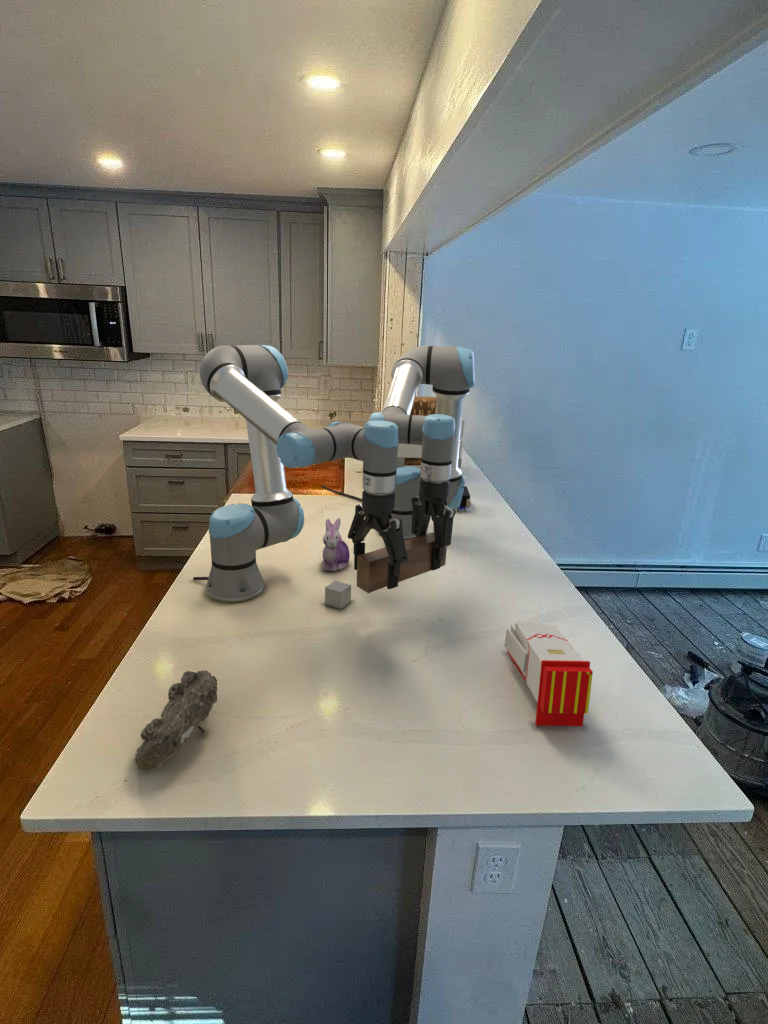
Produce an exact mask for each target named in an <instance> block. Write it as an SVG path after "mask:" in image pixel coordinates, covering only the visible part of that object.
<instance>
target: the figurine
mask: <svg viewBox="0 0 768 1024" xmlns="http://www.w3.org/2000/svg"><path fill="white" fill-rule="evenodd" d="M341 523H342V522H341V518H340V517H337V518H336V520H335V521H334V523H333V524H332V522H331V520H330V519H329V518H327V519H326V520H325V532H324V534H323V537H322V542H323V544H324V547H323V549H322V566H323V567H322V568H323V570H325V571H328V572H336V571H339V570H340V571H341V570H343V569H345V568H347V567H348V566H349V564H350V563H349V562H350V557H351V556H350V550H349V549H350V548H349V546H348V545H347V543H346V542H345V540H343V539H342V535H341V532H340V527H341Z"/></svg>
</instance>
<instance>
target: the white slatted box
mask: <svg viewBox="0 0 768 1024" xmlns="http://www.w3.org/2000/svg"><path fill="white" fill-rule="evenodd" d="M436 399H437V396H415V397H414V401H413V405H412V409H411V413H410V415H419V416H428V415H432V414H436ZM464 429H465V419H464V418H462V424H461V435H460V447H459V458H458V468H459V469H460V470H461V471H462V461H463V460H462V453H463V442H464V441H463V440H462V439H463V438H464V431H465V430H464ZM421 458H422V445H412V444H400V443H399V445H398V453H397V467H396V468H400V467H405V466H406V467H417V466H418V467H421Z"/></svg>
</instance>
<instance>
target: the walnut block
mask: <svg viewBox="0 0 768 1024" xmlns="http://www.w3.org/2000/svg"><path fill="white" fill-rule="evenodd" d="M426 534H427V535H423V536H420V537H417V538H414V539H410V540H404V542H405V547H406V551H407V556H408V561H407V562H405V563H402V564H401V569H400V575H399V578H398V583H401V582H403V581H406V580H409V579H411V578H414V577H417V576H419V575H422V574H423V575H424V574H426V573H428V572H431V571H432V570H431V561H432V548H433V546H434V545H435V537H434V531H433V532H430V533H426ZM440 542H441V541H440ZM447 547H448V546H447ZM447 547H444V551H443V558H441V566H440V568H443V567H444V566H446V563H447V561H446V560H447V549H448V548H447ZM395 558H396V556H395ZM388 562H391V560H390V557H389V555H388V552H387V549H386V547H385V546H384V547H381V548H378V549H375V550H371V551H368V552H365V554H362V555H358V556H357V570H356V588H358V589H360V590H362V591H363V592H365V593H367V594H370V593H373V592H376V591H378V590H382V589H385V588H387V580H388Z"/></svg>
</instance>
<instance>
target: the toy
mask: <svg viewBox="0 0 768 1024" xmlns="http://www.w3.org/2000/svg"><path fill="white" fill-rule="evenodd" d="M503 645H504V647H505V649H506V650H507V655H508V656H509V658H510V659H511V662H513V664H514V666H515V667H516V669H517V670H518V672H519V673H520V675H521V676H522V679H523V680H524V681H525V683H526V686H527V687H528V689H529V690H530V693H531V694H532V696H533V698H534V700H535V701H536V703H537V704H536V714H535V722H534V723H535V726H537V727H541V726H542V727H583V726H584V719H585V715H586V714H587V715H588V714H589V706H590V705H589V704H590V699H591V691H592V683H593V682H592V681H593V674H594V673H593V672H594V671H593V670H592V669H591V668H590V667H591V661H590V660H584V659H583V658H582V657H581V655H580V654H579V653H578V651H577V650H576V649H575V648H574V647H573V645H572V644H571V643H570V642H569V640H568V639H567V638H566V636H564V633H562V632H561V630H560V629H559V628H558V627H557V625H556V624H555V623H553V622H515V624H511V625H510V628H506V630H505V638H504V644H503Z"/></svg>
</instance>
